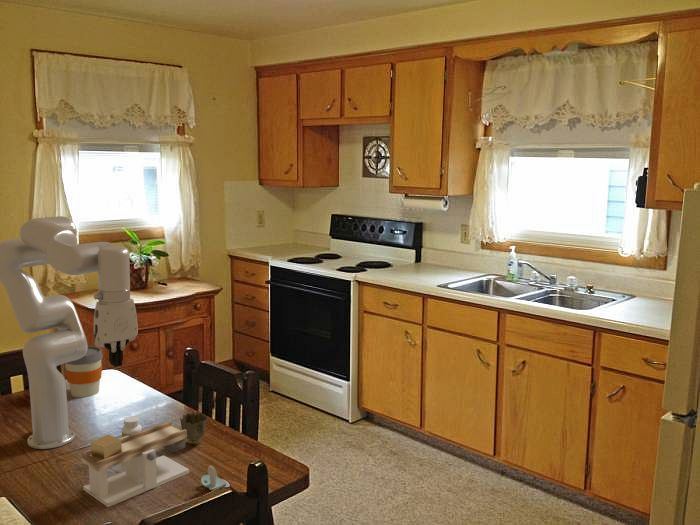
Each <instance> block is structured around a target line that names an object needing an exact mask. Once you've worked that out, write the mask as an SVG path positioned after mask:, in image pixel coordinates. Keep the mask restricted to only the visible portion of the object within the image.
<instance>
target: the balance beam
mask: <svg viewBox="0 0 700 525" xmlns="http://www.w3.org/2000/svg"><path fill="white" fill-rule="evenodd" d="M186 438H187V430H186V429H184V430H182V429H181V430H180V429H179V428H176V427H175V426H173V425H172V421H168V422H164V423H162V424H158V425H156V426H153V427H151V428H147V429H145V430H142V431H141V432H139V433H136V434H133V435H130V436H127V437H124V438H122V439H121V445H122V453H119V454H117V455H114V456H111V457H108V458H106V459H103V460H100V461H99V460H97V459H95V458H93V457H92V455H91V448H90V449H88V450H85V451H81V453H80V458H81V462H82V463H84V464H85V465H87V466H88V467H89V466H90V467H91V468H93V469H94V470H96V471H97V472H99V471H102V470H104V469H107V470H108V469H110V468H112V467H114V466H118V465H119V464H120V463H123V462H125V461H128V460H130V459H133V458H136V457H138V456H141V455H142V453H143V452H146V451H149V450H151V449H154V450H155V451H156V450H159V449H162V448H163V449H166V451H167V450H168V451H169V452H171V453H174V452H176V451H179V450H182V449H185V448H186Z"/></svg>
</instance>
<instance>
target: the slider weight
mask: <svg viewBox="0 0 700 525" xmlns="http://www.w3.org/2000/svg"><path fill="white" fill-rule="evenodd" d="M90 449H91V455H92V457H93V458H95V459H97V460H99V461H100V460H103V459H106V458H108V457H111V456H114V455H117V454H119V453H122V445H121V439H119V437H115V436H113V435H110V434H106V435H104V436H102V437H99V438H97V439H94V440H92V441H90Z"/></svg>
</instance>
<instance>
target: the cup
mask: <svg viewBox="0 0 700 525" xmlns="http://www.w3.org/2000/svg"><path fill="white" fill-rule="evenodd" d="M207 418H208V417H207V414H205V413H202V412H196V413H195V412H192V414H191V413H190V412H187V413H186V414H183V415H182V417H180V418H179V420H180V427H181V430H184V429H186V430H187V438H185V440H187V443H188V445H191V446H195V445H199V444H200V443H201V441H202V440H201V439H202V438H203V436H204V435H205V433H206V429H207V428H206V427H207Z"/></svg>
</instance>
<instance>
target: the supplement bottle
mask: <svg viewBox="0 0 700 525" xmlns="http://www.w3.org/2000/svg"><path fill="white" fill-rule="evenodd" d="M123 425H124V426H123V427H121V437H125V436H130V435H133V434H136V433H139V432H141V431H143V428H142V425H141V424H140V418H139V417H138V416H128V417H125V418H124V420H123Z"/></svg>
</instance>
